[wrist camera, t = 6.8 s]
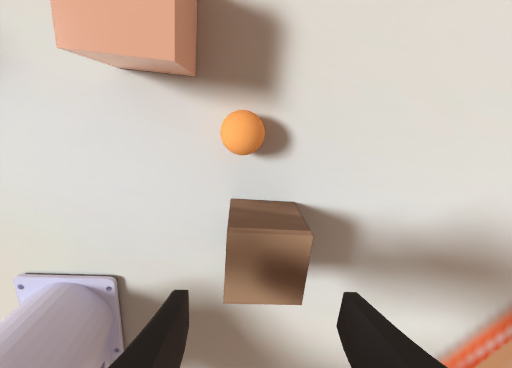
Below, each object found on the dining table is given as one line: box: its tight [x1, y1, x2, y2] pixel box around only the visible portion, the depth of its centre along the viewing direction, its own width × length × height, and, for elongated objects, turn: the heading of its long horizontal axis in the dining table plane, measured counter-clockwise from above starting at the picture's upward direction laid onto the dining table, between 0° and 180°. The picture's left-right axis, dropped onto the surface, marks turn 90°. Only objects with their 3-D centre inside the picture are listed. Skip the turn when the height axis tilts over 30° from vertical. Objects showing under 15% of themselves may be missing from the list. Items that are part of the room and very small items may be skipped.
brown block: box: [223, 199, 313, 305], centre depth 18 cm, size 5×5×6 cm
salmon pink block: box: [51, 0, 197, 76], centre depth 13 cm, size 5×5×6 cm
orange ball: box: [221, 110, 265, 155], centre depth 16 cm, size 3×3×3 cm
